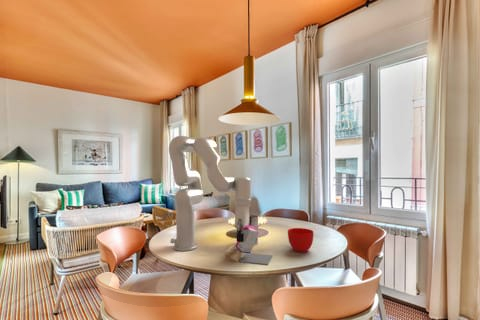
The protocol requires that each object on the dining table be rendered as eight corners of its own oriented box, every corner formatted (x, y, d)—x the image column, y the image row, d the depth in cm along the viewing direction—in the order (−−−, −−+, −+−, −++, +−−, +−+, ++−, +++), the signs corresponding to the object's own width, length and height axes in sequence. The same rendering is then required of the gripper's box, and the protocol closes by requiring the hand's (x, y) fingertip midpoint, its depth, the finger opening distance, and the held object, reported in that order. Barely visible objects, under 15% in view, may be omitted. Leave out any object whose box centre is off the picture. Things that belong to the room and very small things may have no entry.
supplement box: (250, 253, 123) (259, 231, 122) (241, 252, 119) (250, 230, 118) (244, 246, 127) (252, 225, 126) (234, 245, 124) (243, 224, 123)
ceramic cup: (304, 243, 144) (303, 225, 145) (318, 253, 128) (318, 233, 128) (282, 245, 142) (281, 226, 143) (293, 255, 126) (293, 234, 126)
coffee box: (238, 243, 146) (238, 214, 147) (246, 240, 151) (246, 213, 152) (251, 246, 140) (250, 216, 141) (258, 243, 145) (258, 215, 145)
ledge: (225, 260, 119) (225, 251, 119) (232, 252, 130) (232, 244, 130) (237, 261, 118) (237, 252, 118) (244, 253, 128) (243, 245, 128)
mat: (239, 262, 117) (239, 261, 117) (246, 253, 128) (246, 252, 128) (268, 264, 113) (268, 264, 113) (272, 255, 125) (272, 255, 125)
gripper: (240, 200, 133) (240, 234, 132) (229, 205, 116) (229, 243, 116) (254, 201, 131) (254, 235, 130) (245, 205, 114) (246, 244, 114)
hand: (242, 239), depth 123 cm, fingers open, 9 cm apart
